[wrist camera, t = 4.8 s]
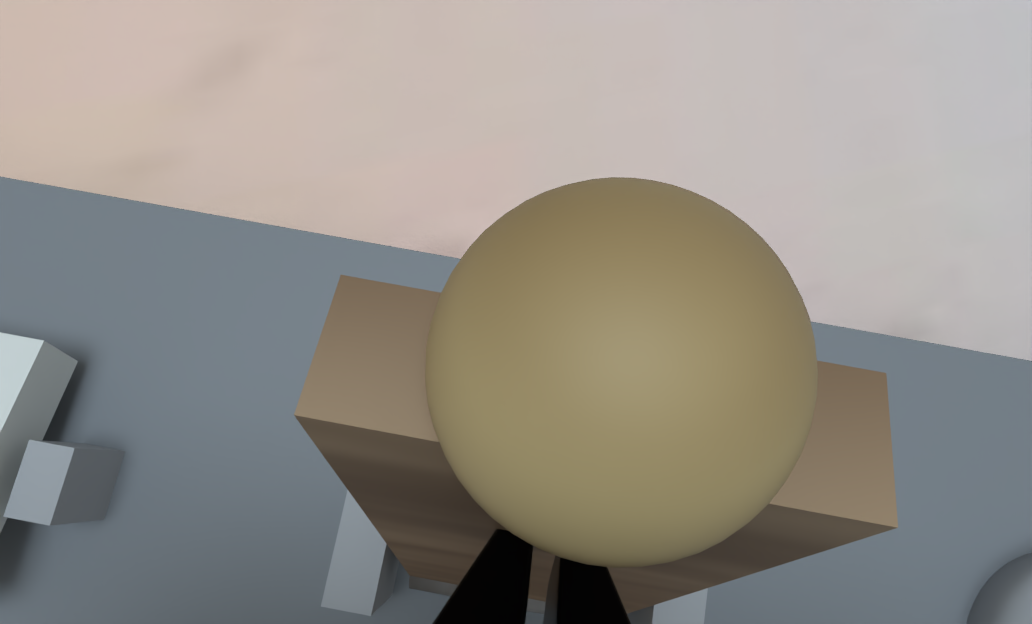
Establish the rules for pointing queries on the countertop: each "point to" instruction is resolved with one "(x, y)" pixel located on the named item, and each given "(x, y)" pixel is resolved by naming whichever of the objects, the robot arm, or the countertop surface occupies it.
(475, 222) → the countertop surface
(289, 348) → the switch panel
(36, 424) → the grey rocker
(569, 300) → the walnut lever
